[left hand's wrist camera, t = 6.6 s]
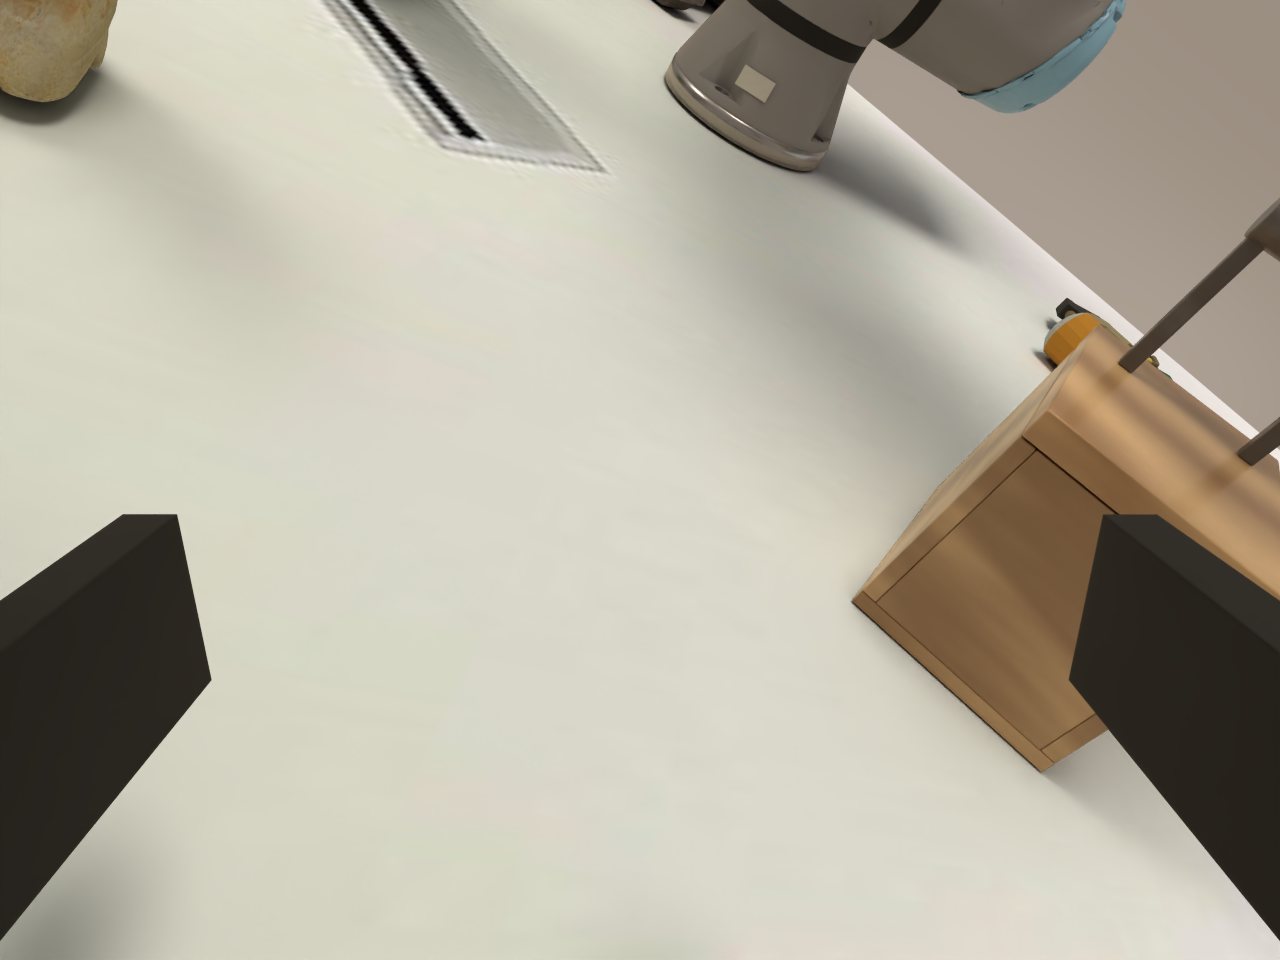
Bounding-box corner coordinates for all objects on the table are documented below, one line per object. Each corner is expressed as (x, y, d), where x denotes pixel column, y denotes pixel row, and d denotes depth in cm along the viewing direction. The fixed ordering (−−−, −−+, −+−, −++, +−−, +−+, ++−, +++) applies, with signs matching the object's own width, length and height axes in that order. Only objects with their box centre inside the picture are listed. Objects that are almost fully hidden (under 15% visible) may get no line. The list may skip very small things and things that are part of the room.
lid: (1078, 344, 40) (1259, 161, 34) (1253, 480, 38) (1476, 310, 32) (1020, 435, 29) (1272, 189, 23) (1263, 632, 27) (1602, 416, 21)
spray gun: (1049, 317, 79) (1181, 431, 76) (1012, 340, 66) (1171, 479, 62) (1086, 280, 77) (1224, 396, 73) (1055, 297, 63) (1223, 439, 60)
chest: (938, 485, 45) (1075, 348, 39) (1087, 611, 43) (1253, 485, 37) (851, 601, 35) (1019, 436, 29) (1041, 773, 33) (1261, 633, 27)
